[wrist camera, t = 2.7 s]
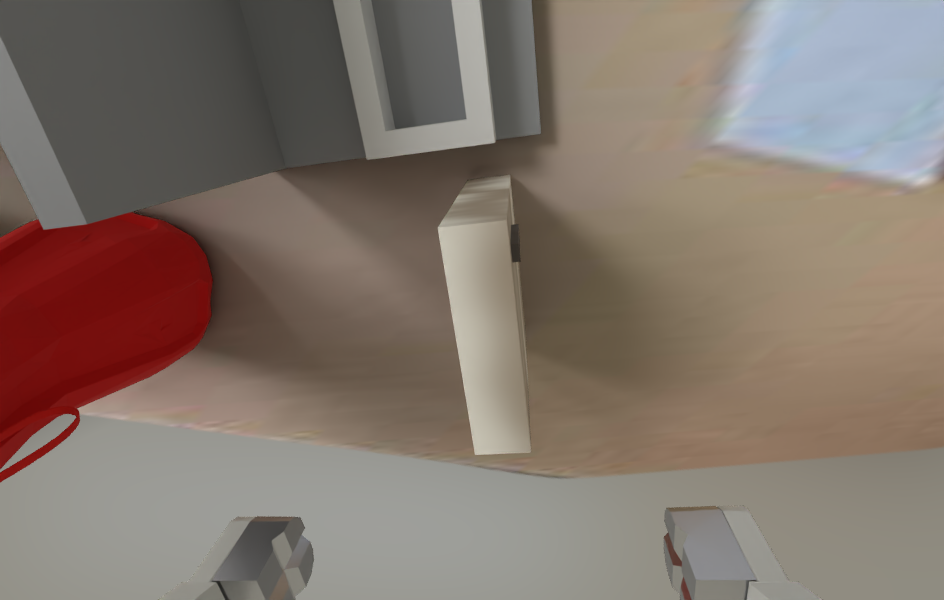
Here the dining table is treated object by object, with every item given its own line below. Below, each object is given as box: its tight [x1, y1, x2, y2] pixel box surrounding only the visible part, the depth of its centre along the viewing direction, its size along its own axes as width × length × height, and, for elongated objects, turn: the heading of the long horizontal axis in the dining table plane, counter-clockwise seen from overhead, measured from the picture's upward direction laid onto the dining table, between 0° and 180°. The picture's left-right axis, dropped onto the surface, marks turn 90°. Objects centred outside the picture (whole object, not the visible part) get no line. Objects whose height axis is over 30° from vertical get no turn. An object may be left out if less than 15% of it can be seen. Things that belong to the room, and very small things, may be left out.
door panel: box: [438, 175, 531, 455], centre depth 23 cm, size 3×10×11 cm, turn 8°
